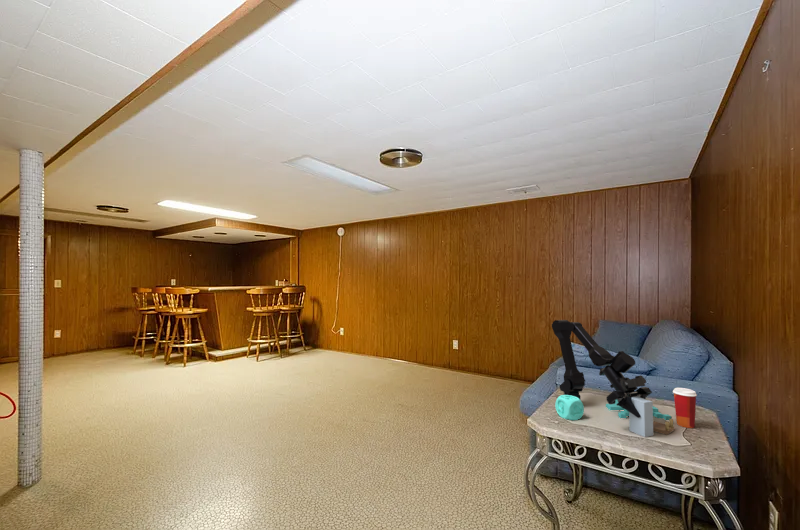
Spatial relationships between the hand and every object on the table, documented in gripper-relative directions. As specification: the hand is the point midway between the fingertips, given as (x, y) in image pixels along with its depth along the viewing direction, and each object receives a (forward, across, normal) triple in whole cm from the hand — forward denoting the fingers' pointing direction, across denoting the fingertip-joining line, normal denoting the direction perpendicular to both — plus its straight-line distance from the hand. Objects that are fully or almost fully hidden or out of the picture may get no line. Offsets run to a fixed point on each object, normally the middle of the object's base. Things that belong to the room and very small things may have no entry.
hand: (644, 416), depth 135 cm
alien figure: (-9, +20, +19) cm, 29 cm away
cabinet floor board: (+2, +10, +7) cm, 13 cm away
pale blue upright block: (+4, 0, +6) cm, 7 cm away
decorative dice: (-12, -13, +21) cm, 27 cm away
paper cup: (+4, +24, +6) cm, 25 cm away
